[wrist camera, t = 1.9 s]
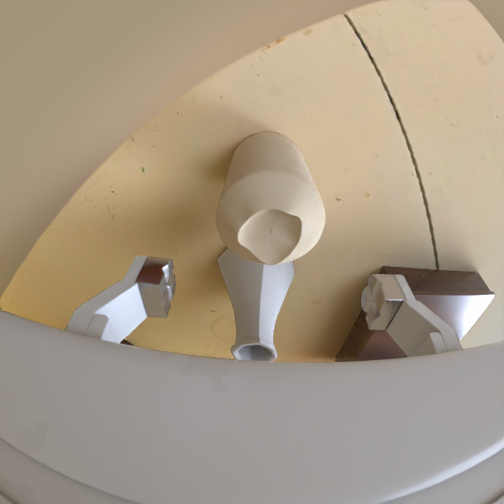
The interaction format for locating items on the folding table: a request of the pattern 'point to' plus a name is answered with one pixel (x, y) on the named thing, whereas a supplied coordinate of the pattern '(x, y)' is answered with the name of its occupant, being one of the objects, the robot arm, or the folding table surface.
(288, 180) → the candle
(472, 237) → the folding table surface
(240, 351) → the flask
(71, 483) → the robot arm
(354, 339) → the wooden step stool
